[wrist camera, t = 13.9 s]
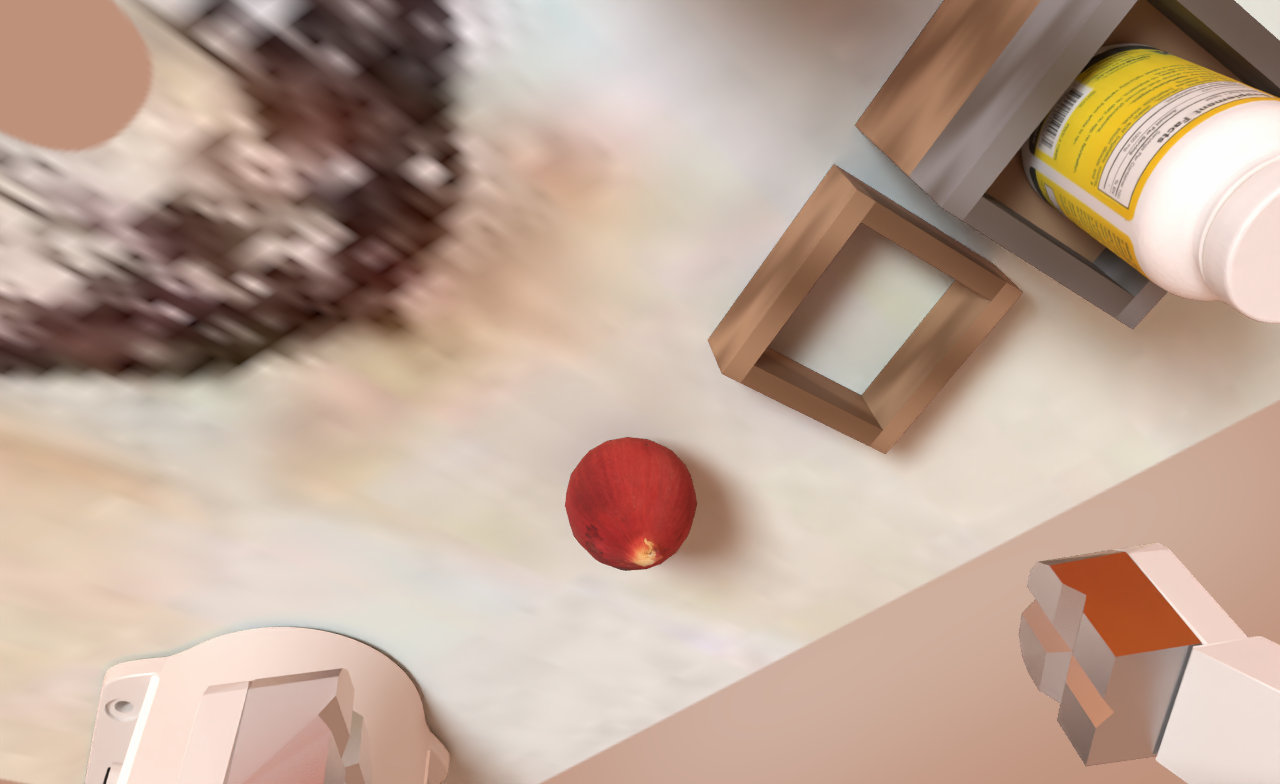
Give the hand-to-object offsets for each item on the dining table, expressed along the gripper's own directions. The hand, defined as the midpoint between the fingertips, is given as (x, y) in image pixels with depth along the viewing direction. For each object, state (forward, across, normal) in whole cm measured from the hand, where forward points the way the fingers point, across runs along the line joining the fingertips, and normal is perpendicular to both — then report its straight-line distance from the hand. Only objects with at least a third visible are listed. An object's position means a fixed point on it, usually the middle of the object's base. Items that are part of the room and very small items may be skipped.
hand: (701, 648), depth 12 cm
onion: (+31, -2, +20) cm, 37 cm away
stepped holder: (+31, -16, +8) cm, 36 cm away
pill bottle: (+25, -20, +4) cm, 32 cm away
